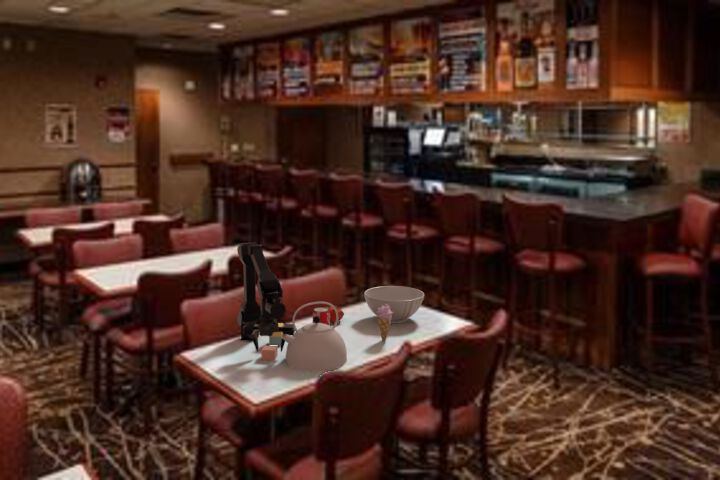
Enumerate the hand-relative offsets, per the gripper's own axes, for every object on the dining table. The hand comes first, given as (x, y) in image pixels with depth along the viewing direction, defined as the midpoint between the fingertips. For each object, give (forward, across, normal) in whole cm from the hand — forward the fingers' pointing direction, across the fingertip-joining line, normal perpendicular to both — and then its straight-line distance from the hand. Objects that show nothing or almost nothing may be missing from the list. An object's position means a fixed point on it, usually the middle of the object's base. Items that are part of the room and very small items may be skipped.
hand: (269, 351), depth 254 cm
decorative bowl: (+3, +47, +53) cm, 71 cm away
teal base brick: (+3, 0, +16) cm, 16 cm away
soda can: (+3, +17, +25) cm, 30 cm away
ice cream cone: (+3, +43, +23) cm, 49 cm away
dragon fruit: (+3, +20, +46) cm, 50 cm away
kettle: (+3, +17, -2) cm, 17 cm away
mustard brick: (-1, 0, +16) cm, 16 cm away
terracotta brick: (+3, 0, 0) cm, 3 cm away
